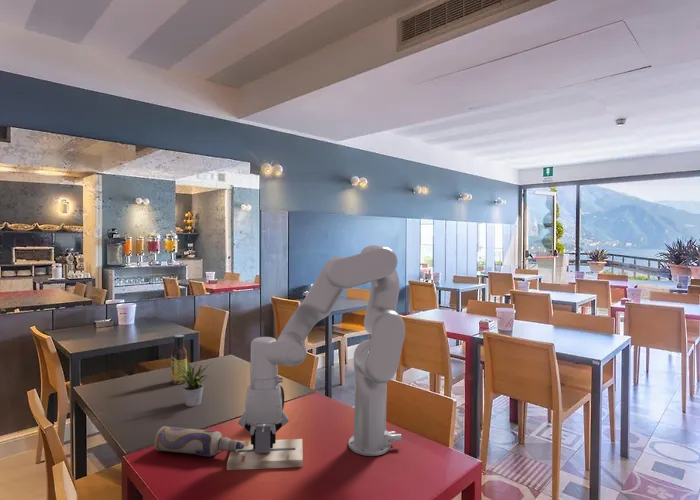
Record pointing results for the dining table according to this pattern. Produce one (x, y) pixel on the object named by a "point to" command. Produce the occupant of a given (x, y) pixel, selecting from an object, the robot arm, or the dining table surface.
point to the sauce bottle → (178, 359)
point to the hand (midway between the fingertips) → (263, 445)
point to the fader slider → (262, 438)
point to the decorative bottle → (194, 441)
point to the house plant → (192, 385)
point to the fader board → (267, 456)
